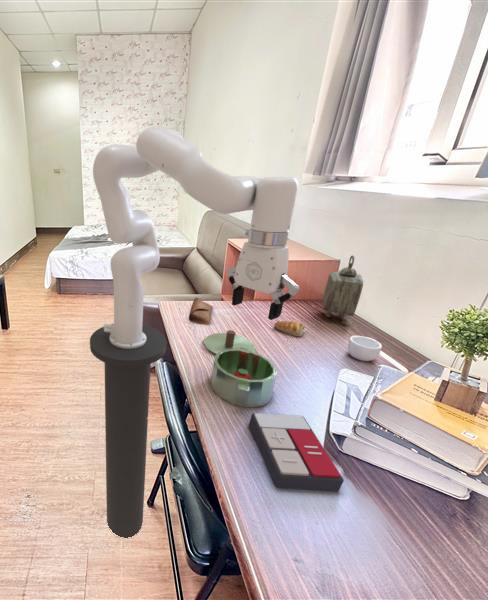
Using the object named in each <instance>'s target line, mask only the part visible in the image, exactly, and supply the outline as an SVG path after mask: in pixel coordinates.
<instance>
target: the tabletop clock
mask: <svg viewBox="0 0 488 600" xmlns="http://www.w3.org/2000/svg"><path fill="white" fill-rule="evenodd" d="M354 263H355V255H350V257H349V261H348V266H346V267H344V268H342V269H341V270H340V271H334V272H330V273H329V274H328V277H327V281H326V284H325V285H326V286H325V289H324V292H323V297H322V308H323V309H324V310H325V311H327V312H328V313H326V314H325V317H326V318H331V316H332V313H333V314H339V315H340V317H341V319H342V321H341V324H342V325H343V326H346V325H347V324H348V321H347V320H345V319H346V318H345V316H351V317H354V315H355V314H356V310H357V307H358V304H359V302H360V299H361V295H362V291H363V287H364V279H363V276H362V275H361V274H359V273H357V270H356V269H355V268H353V266H354Z"/></svg>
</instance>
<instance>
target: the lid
mask: <svg viewBox="0 0 488 600" xmlns="http://www.w3.org/2000/svg"><path fill="white" fill-rule="evenodd" d="M203 343H204V347H205V348H206V349H207V350H208V351H209V352H211V353H213V354H215V355H216V354H218V353H219V352H220V351H224V350H228V349H240V347H243V348H248V349H249V351H251V352H254V353H256V346H255V344H254V343H253V342H251V341H250V340H249V339H247V338H246V337H243V336H240V335H237V334H236V331H234V330H233V329H232V330H231V329H228V330H227V331H226V333H224V332H218V333H212V334H209V335H207V336H206V337H205V338H204V341H203Z"/></svg>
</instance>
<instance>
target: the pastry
mask: <svg viewBox="0 0 488 600" xmlns="http://www.w3.org/2000/svg"><path fill="white" fill-rule="evenodd" d="M274 327H275V328H276V330H278V331H279V332H283V333H284V334H287V335H291V336H294V337H302V336H303V333H305V331H306V330H305V328H306V324H305V323H300V322H297V321H294V320H292V321H291V320H283V321H282V320H279V321H277V322H275V323H274Z"/></svg>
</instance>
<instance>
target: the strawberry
mask: <svg viewBox="0 0 488 600" xmlns="http://www.w3.org/2000/svg"><path fill="white" fill-rule="evenodd" d="M234 376H236V377H239V378H244V379H249V380H250V376H249V375H248V371H247V370H245V369H238V371H237V372H236V373H235V374H234Z"/></svg>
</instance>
